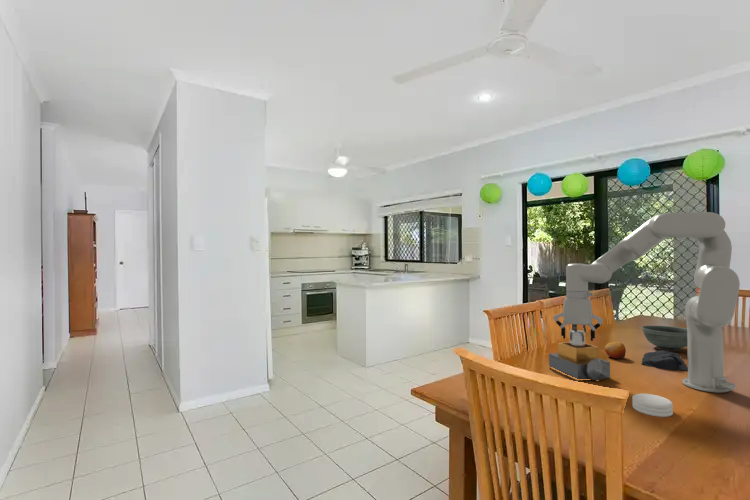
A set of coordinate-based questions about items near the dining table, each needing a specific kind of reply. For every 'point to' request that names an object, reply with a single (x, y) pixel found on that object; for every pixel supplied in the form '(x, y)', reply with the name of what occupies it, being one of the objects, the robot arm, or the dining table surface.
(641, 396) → the coaster
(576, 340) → the spout can
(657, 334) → the bowl
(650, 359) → the dark slate chunk
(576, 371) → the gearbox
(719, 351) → the robot arm
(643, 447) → the dining table surface
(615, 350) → the fruit
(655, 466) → the dining table surface
